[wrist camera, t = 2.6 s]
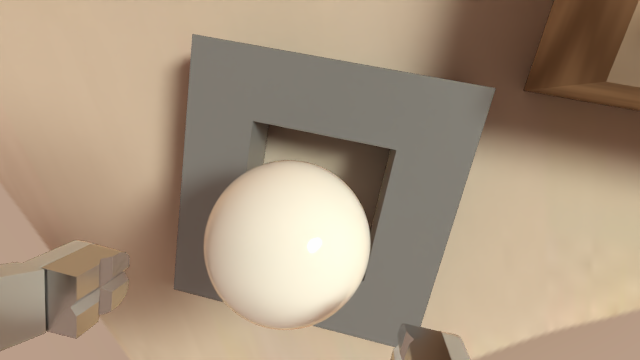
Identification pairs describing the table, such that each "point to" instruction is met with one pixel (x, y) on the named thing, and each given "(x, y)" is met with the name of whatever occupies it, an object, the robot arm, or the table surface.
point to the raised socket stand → (590, 53)
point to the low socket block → (344, 123)
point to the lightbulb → (286, 245)
